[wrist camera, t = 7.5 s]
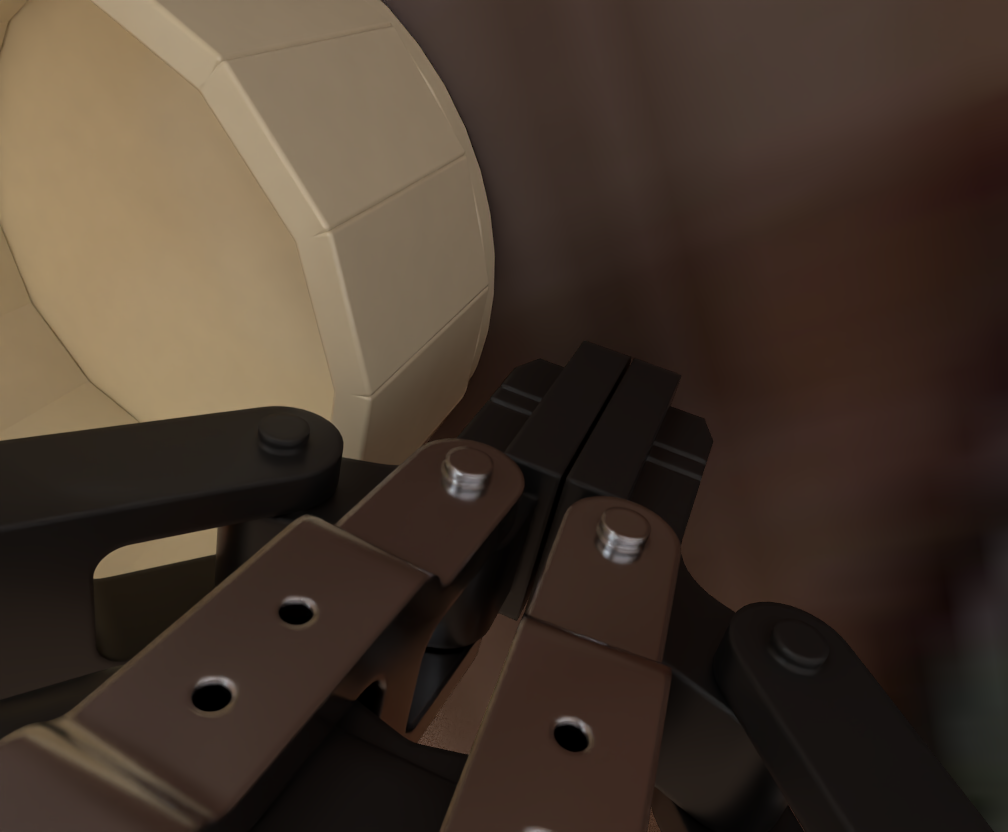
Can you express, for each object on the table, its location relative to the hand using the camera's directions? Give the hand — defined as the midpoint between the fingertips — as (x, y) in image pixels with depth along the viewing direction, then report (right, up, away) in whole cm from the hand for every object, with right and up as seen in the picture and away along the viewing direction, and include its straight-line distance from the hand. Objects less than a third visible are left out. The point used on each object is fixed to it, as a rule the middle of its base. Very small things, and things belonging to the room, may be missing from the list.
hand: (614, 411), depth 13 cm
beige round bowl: (-6, +3, +2) cm, 8 cm away
